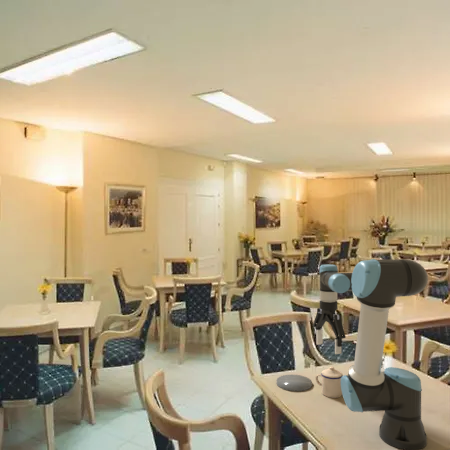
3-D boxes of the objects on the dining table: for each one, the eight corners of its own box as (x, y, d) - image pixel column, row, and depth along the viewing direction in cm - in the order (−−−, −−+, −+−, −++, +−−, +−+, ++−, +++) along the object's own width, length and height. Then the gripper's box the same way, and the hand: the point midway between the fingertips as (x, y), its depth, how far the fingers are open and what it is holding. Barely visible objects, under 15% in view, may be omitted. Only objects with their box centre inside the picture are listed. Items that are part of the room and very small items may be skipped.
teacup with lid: (345, 392, 178) (345, 366, 178) (338, 400, 171) (337, 372, 171) (320, 386, 186) (320, 360, 185) (311, 393, 178) (311, 366, 178)
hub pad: (318, 387, 184) (318, 385, 184) (287, 393, 178) (287, 390, 178) (299, 375, 199) (299, 372, 199) (270, 380, 193) (270, 377, 193)
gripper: (354, 305, 167) (354, 356, 168) (319, 294, 191) (319, 339, 191) (339, 307, 165) (339, 359, 165) (305, 295, 188) (305, 341, 188)
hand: (328, 348), depth 178 cm, fingers open, 13 cm apart
